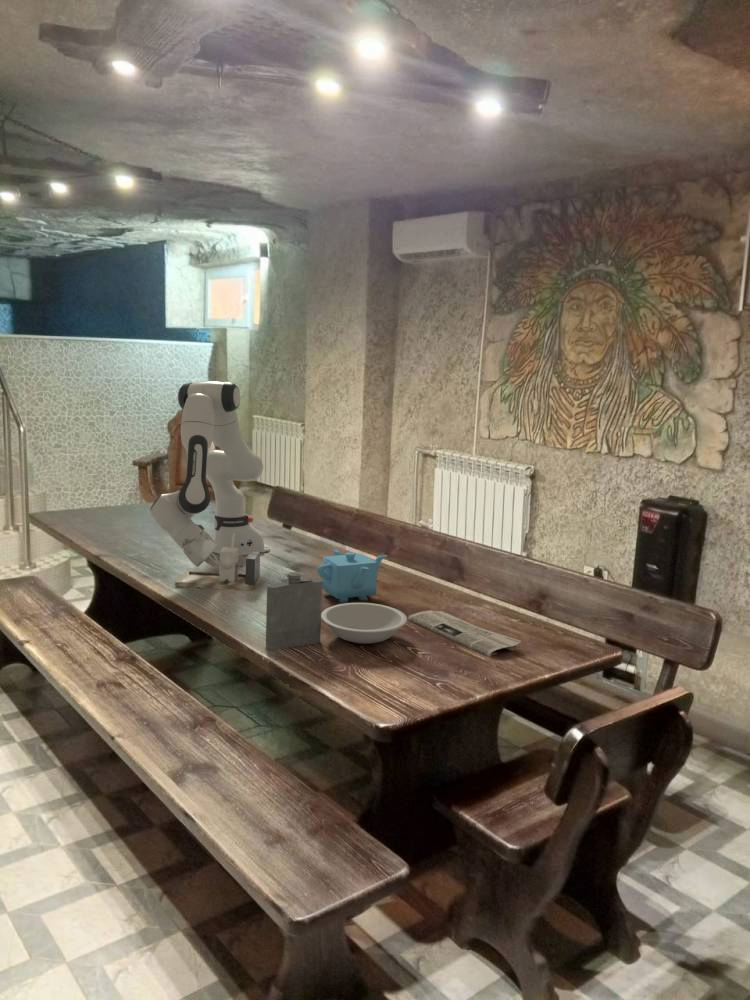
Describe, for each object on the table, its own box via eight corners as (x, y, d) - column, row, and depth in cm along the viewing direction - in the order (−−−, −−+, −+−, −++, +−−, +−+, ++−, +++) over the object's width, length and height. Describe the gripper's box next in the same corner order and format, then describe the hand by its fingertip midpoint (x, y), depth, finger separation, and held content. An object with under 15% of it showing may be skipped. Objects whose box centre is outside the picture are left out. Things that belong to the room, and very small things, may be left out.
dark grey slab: (245, 585, 257) (245, 558, 255) (250, 576, 267) (251, 550, 265) (254, 585, 257) (254, 559, 255) (259, 576, 267) (260, 551, 265)
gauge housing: (217, 583, 256) (217, 553, 254) (223, 575, 265) (223, 547, 263) (238, 584, 256) (239, 554, 254) (243, 576, 265) (244, 548, 263)
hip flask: (268, 651, 206) (270, 578, 202) (262, 646, 209) (263, 574, 205) (322, 642, 214) (324, 572, 210) (315, 637, 217) (317, 568, 214)
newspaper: (407, 621, 235) (408, 610, 235) (438, 615, 243) (438, 604, 242) (493, 660, 208) (494, 648, 207) (524, 651, 216) (525, 639, 215)
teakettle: (312, 601, 249) (313, 556, 246) (332, 585, 266) (334, 543, 264) (368, 609, 243) (370, 563, 241) (385, 592, 261) (387, 549, 258)
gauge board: (175, 586, 256) (175, 579, 256) (184, 576, 268) (184, 569, 268) (253, 590, 256) (253, 584, 256) (260, 580, 268) (260, 573, 267)
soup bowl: (410, 655, 208) (412, 632, 206) (320, 654, 206) (321, 630, 204) (400, 624, 231) (402, 603, 230) (319, 623, 229) (320, 601, 228)
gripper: (187, 537, 249) (217, 568, 250) (202, 523, 269) (230, 552, 270) (173, 550, 250) (203, 581, 251) (190, 535, 270) (217, 564, 271)
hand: (217, 566), depth 261 cm, fingers closed
